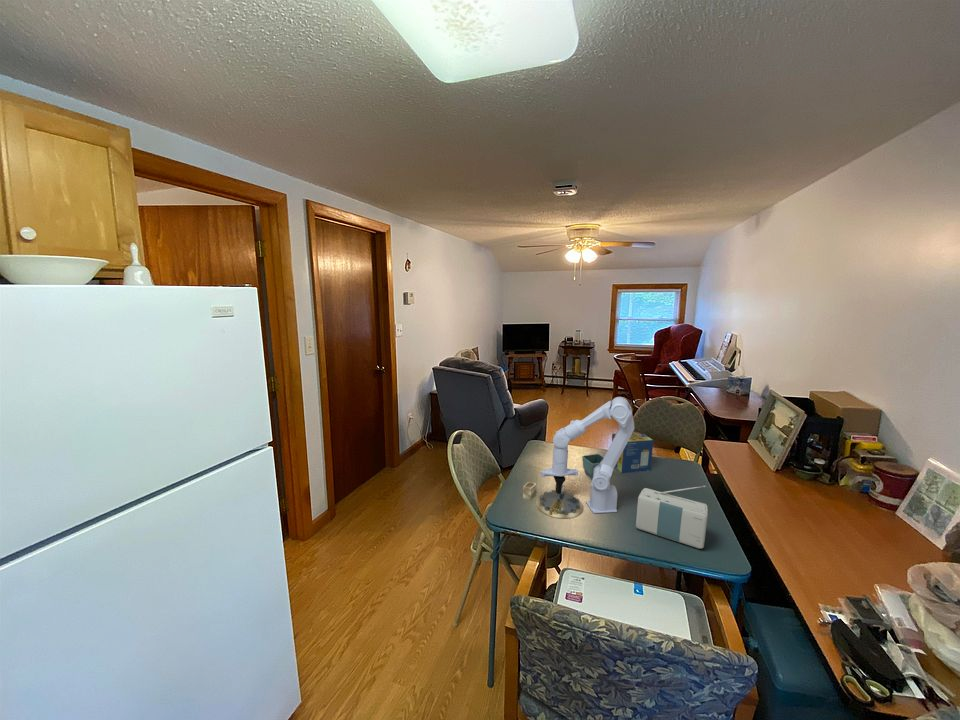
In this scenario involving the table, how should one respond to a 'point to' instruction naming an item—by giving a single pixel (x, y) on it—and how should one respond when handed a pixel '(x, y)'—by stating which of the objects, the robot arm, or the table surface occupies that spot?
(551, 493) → the sprocket
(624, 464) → the protein box
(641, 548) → the table surface
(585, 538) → the table surface
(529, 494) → the link block
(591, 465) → the flower pot
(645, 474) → the table surface
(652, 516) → the stereo radio cassette player
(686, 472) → the table surface
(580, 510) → the sprocket base
